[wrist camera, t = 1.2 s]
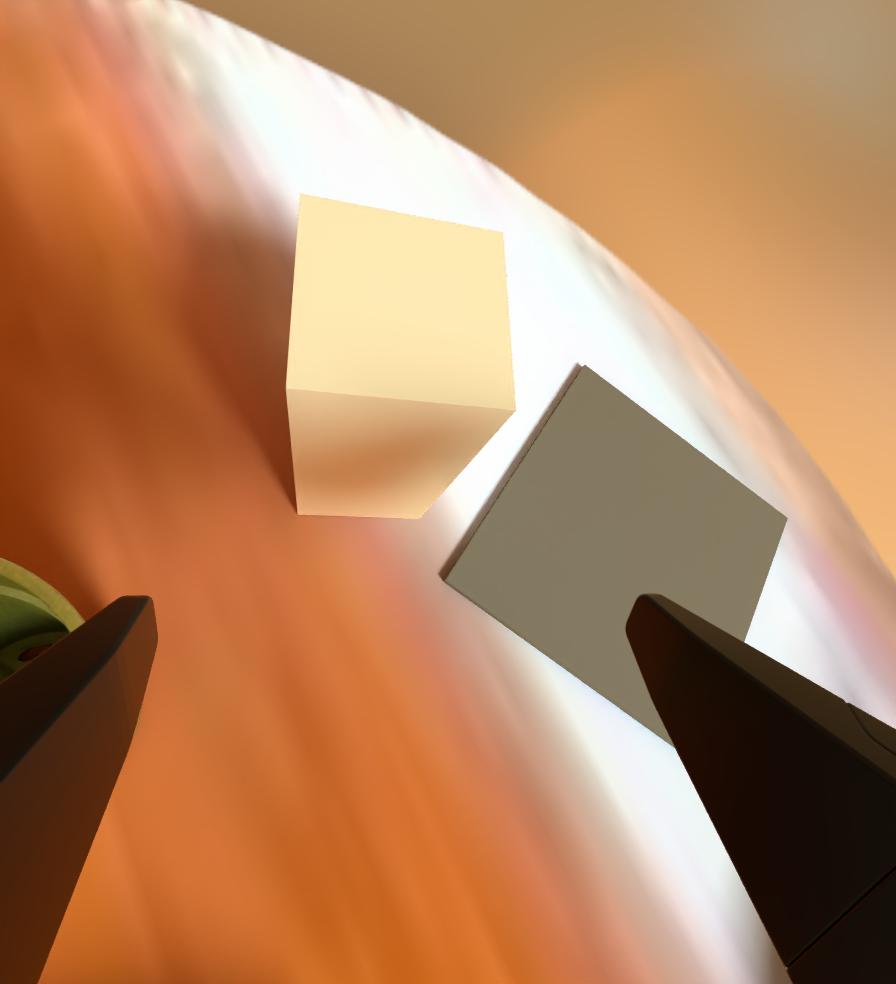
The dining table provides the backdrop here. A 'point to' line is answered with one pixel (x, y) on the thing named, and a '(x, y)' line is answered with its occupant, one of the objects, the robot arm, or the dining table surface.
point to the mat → (615, 540)
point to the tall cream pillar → (392, 357)
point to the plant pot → (30, 616)
